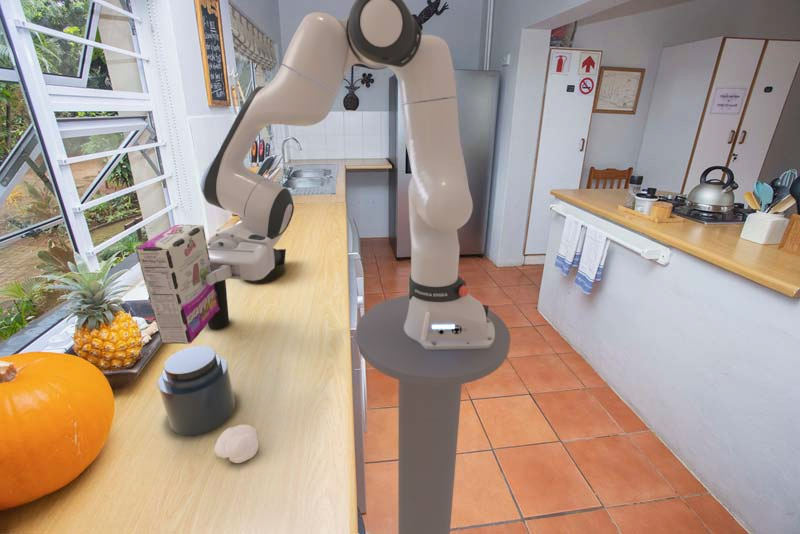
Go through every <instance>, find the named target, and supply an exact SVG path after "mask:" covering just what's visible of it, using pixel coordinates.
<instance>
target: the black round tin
mask: <svg viewBox="0 0 800 534" xmlns="http://www.w3.org/2000/svg"><path fill="white" fill-rule="evenodd" d="M273 251H274V260H275V267H274V269H272V270H271V271H270V272H269V273H268V274H267V275H266V276H265V277H264V278H262V279H259V280H255V281H253V280H243V282H245V283H247V284H250V285H263V284H268V283H271V282H275V281H276V280H277V279H280V277H281V276H282V275H283V272H284V270H283V266H285V265H286V254H287V253H286V251H287V249H286V248H282V249H281V248H279V249H277V248H274V247H273Z"/></svg>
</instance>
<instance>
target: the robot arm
mask: <svg viewBox="0 0 800 534" xmlns="http://www.w3.org/2000/svg"><path fill="white" fill-rule="evenodd" d="M353 66H354V67H359V68H364V69H368V70H375V71H377V70H384V69H387V68H389V69H390V71H392V72H393V74H394V75H395V77H396V80H397V83H398V86H399V97H400V104H401V106H400V107H401V115H402V122H403V131H404V140H405V147H406V151H407V155H408V160H409V166H410V172H411V178H410V180H409V183H408V187H407V190H408V192H407V194H408V220H409V233H410V234H409V235H410V252H411V253H410V262H411V263H410V274H409V278H408V285H407V286H408V290H407V291H408V292H407V293H408V294H407V295H409V299H410V301H409V309H408V314H407V318H406V321H405V324H404V331H405V333H406V334H407V335H408V336H409V337H410V338H412V339H413V340H415V341H417V342H419V343H420V344H421V345H422V346H423V347H424V348H425V349H427V350H448V349H486V348H490V347H491V346H492V345H493V343H494V340H495V329H494V325H493V323H492V322H491V320H490V319H489V318H488V317H487V315H488V309H489V305H488V304H482V303H481V301H480V300H478V299H476V298H475V297H474V296H472V295H471V294H470V293H469V292H468V291H469V289H468V287H467V282H466V280H465V277H464V276H462V277H461V276H459V265H460V262H459V261H460V241H459V236H458V230H459V229H461V228H462V227H463V226H464V225H466V224H467V223H468V221H469V220H470V218H471V216H472V213H473V209H474V203H473V197H472V195H471V192H470V191H471V190H470V189H469V181H468V175H467V169H466V168H467V167H466V164H465V158H464V153H463V149H462V144H461V143H462V142H461V136H460V122H459V107H458V93H457V82H456V76H455V69H454V63H453V59H452V55H451V51H450V47H449V45H448V44H447V42H446V41H445V40H444V39H443V38H441V37H439V36H437V35H433V34H422V29H421V28H420V26H419V24H418V23H417V21H416V19H415V17H414V16H413V14H412V13H411V10H410V9H409V7H408V6H407V4H406V3H405V1H404V0H355V1H354V3H353V4H352V7H351V8H350V11H349V15H348V17H346V18H345V19H341V18H336V17H335V16H332V15H331V14H328V13H326V12H320V11H314V12H309V13H308V14H307V15H305V16H304V17H303V19H302V20H301V22H300V23H299V25H298V28H297V29H296V30H295V32H294V35H293V36H292V38H291V41H290V42H289V44H288V47H287V49H286V51H285V54H284V56H283V59H282V61H281V65H280V67H279V70H278V72H277V73H276V75H275V76H274V77H273V79H271V81H270V82H269V83H268V84H266V85H265V86H257V87H255V88H254V89H253V91H252V92H251V93H250V94H249V95H248V97H247V98H246V100H245V101H244V103H243V104H242V106H241V108H240V110H239V111H238V113H237V114H236V117H235V119H234V120H233V122H232V124H231V126H230V128H229V130H228V132H227V133H226V136H225V137H224V139H223V141H222V143H221V145H220V146H219V148H218V150H217V152H216V153H215V155H214V156H213V158H211V161H210V162H208V165H207V166H206V167H205V169H204V170H203V172H202V174H201V176H200V180H199V185H200V186H199V187H200V190H201V192H202V195H203V197H204V199H205V201H206V202H207V203H208V204H209V205H212V206H215V207H217V208H220V209H222V210H225V211H229V212H230V213H232V214H234V215H236V216H238V217H240V218H242V219H241V220H239V221H238V222H236V223H235V224H233V225H229V226H228V227H226V228H223V229H222V230H220V231H218V232H217V233H215V234H213V235H212V236H211V237H210V238H209V240H208V242H207V248H208V253H209V258H210V263H211V269H212V272H206V273H204V274H203V275H201V280H202V284H203V285H213V284H214V283H216V282H218V281H222V280H225V281H226V280H229V279H230V280H240V281H241V280H243V281H244V280H253V281H255V280H259V279H262V278H264V277H265V276H266V275H267V274H268V273H269V272H270V271H271V270H272V269H274V267H275V260H274V251H273V248H274V247H276V245H277V244H278V243H279V241H280V240H281V238H282V237H283V234H284V233H285V232H286V231H287V229H288V227H289V225H290V223H291V221H292V219H293V214H294V210H295V204H294V200H293V196H292V194H291V192H290V190H289V188H287V187H285V186H283V185H281V184H280V183H277V182H276V181H273V180H272V179H269V178H268V177H267V178H266V177H264V176H263V175H261V174H258V173H257V172H255V171H253V170H252V169H249V168H247V167H246V166H245V163H244V162H245V159H246V157H247V155H248V153H250V150H251V148H252V146H253V144H254V143H255V141H256V139H257V137H258V136H259V134H260V133H261V131H262V130H263V129H265V128H266V127H268V126H271V125H284V126H295V127H309V126H314V125H316V124H319V123H320V122H322V121H324V120H325V119H326V118H327V117H328V115H329V113H330V112H331V110H332V109H333V106H334V104H335V101H336V100H337V97H338V94H339V92H340V89H341V86H342V85H343V81H344V79H345V77H346V75H347V73H348V71H349V70H350V69H351V68H352V67H353Z"/></svg>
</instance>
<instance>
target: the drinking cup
mask: <svg viewBox="0 0 800 534" xmlns="http://www.w3.org/2000/svg"><path fill="white" fill-rule="evenodd" d="M214 284H215V289H216V294H217V299H218V305H219V308H220V309H219V311H218V312H217V313H216V314H215V315H214V316H213V318H212V319H211V320H210V321H209V322H208V324H207V326H208V328H209V329H210V330H222V329H224V328H226V327H227V326H228V325H229V324H230V318H229V317H230V316H229V307H228V306H229V305H228V294H227V283H226V280H222V281H218V282H216V283H214Z"/></svg>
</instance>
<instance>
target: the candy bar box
mask: <svg viewBox="0 0 800 534" xmlns="http://www.w3.org/2000/svg"><path fill="white" fill-rule="evenodd" d="M207 245H208V242H207V239H206V233H205V228H204V225H201V224H199V225H198V224H197V225H196V224H175V225H173V226H171V227H170V228H168V229H166V230H165V231H163V232H161V233H160V234H157V235H156V236H155V237H153V238H151V239H149V240H147V241H146V242H144V243H142V244H141V245H139V246H137V247H135V251H136V255H137V259H138V262H139V265H140V269H141V273H142V276H143V280H144V284H145V288H146V292H147V294H148V298H149V301H150V305H151V308H152V312H153V316H154V320H155V324H156V327H157V330H158V335H159V338H160V342H161V344H171V345H173V344H175V345H176V344H178V345H179V344H181V345H182V344H185V345H190V344H192V343H193V342H194V340H196V338H197V337H198V336H199V335H200V333H201V332H203V330H204V329H205V327H206V326H208V322H209V321H210V320H211V319H212V318H213V316H214V315H215V314H216V313H217V312H218V311H219V309H220V308H219V305H218V299H217V294H216V289H215V284H213V285H203V284H202V280H201V275H203V274H204V273H206V272H212V269H211V263H210V258H209V253H208V248H207Z"/></svg>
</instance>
